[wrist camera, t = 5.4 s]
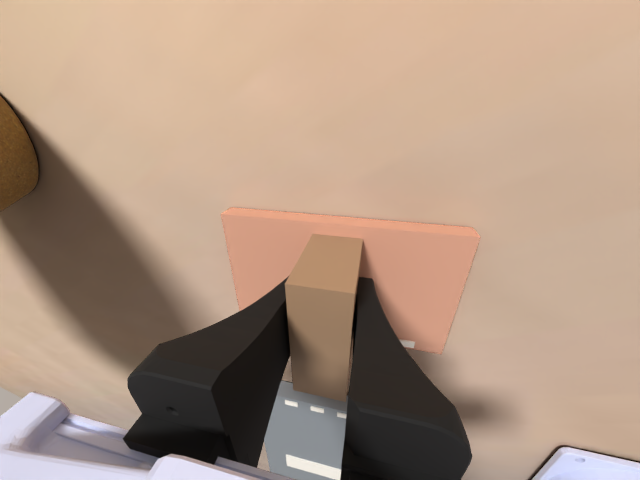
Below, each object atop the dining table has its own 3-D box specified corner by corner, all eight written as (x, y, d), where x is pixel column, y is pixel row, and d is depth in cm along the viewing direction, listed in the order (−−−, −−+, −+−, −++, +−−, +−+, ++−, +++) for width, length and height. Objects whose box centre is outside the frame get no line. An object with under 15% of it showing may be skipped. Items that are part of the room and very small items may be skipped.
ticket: (415, 409, 18) (417, 429, 17) (390, 491, 25) (390, 509, 23) (260, 376, 20) (253, 391, 19) (274, 458, 27) (270, 474, 26)
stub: (472, 227, 11) (529, 301, 7) (437, 339, 15) (461, 436, 10) (231, 207, 14) (159, 253, 9) (248, 308, 17) (202, 376, 13)
